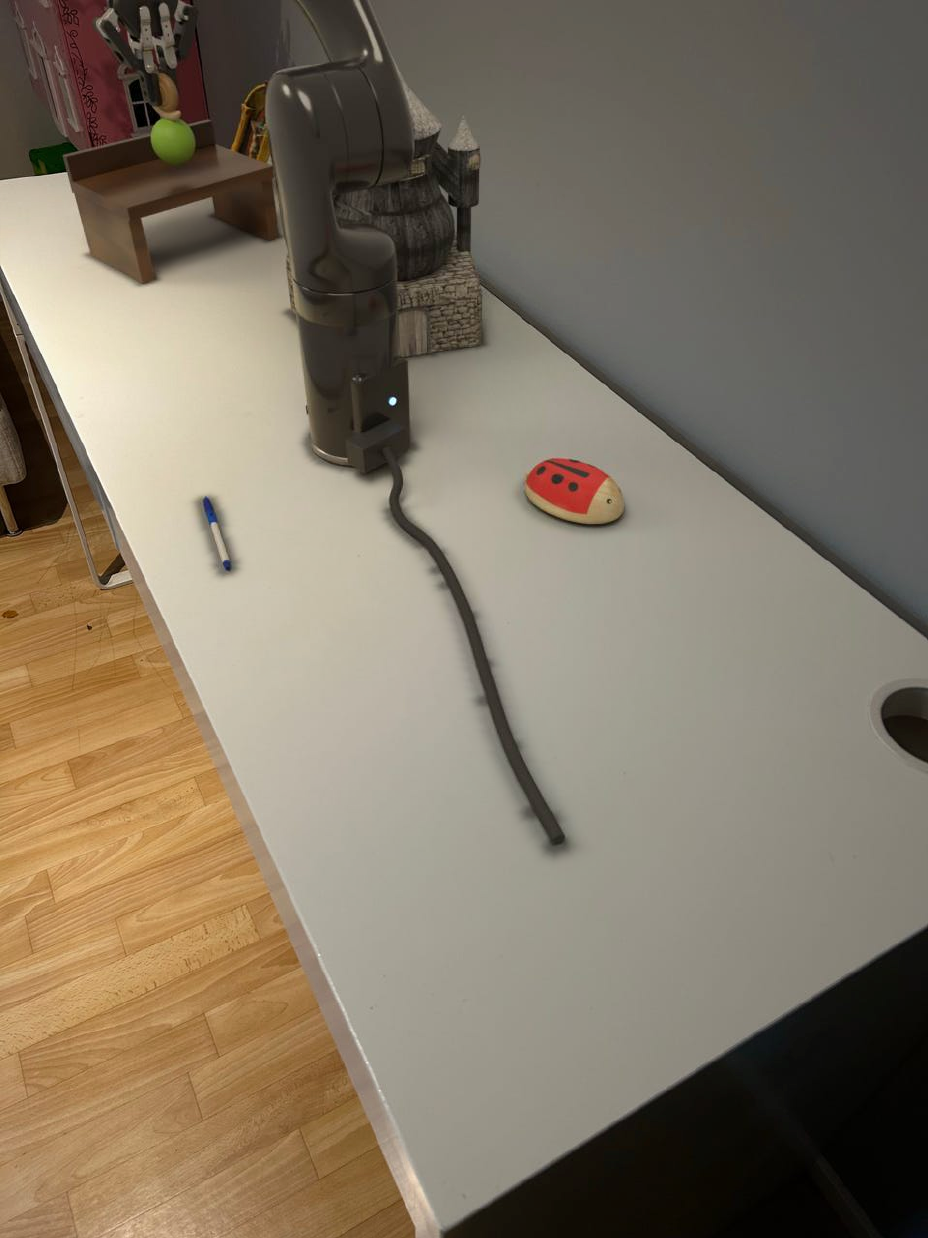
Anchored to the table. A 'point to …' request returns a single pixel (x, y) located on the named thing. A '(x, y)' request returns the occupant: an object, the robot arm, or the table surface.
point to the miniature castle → (428, 237)
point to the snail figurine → (171, 127)
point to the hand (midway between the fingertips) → (163, 102)
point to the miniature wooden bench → (163, 193)
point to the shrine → (253, 127)
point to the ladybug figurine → (574, 491)
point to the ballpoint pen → (216, 532)
